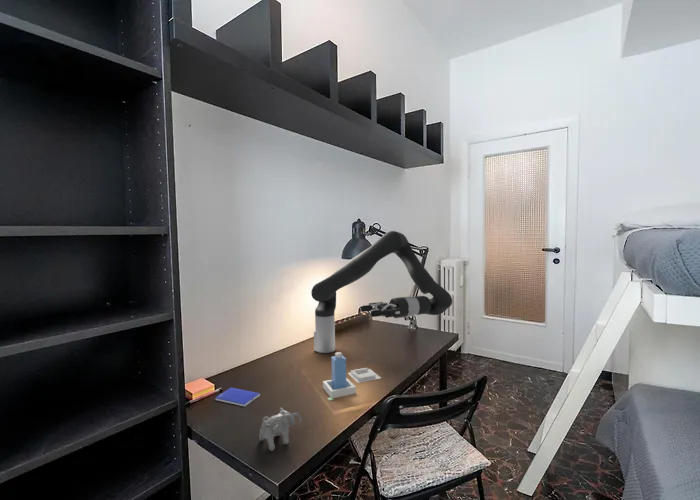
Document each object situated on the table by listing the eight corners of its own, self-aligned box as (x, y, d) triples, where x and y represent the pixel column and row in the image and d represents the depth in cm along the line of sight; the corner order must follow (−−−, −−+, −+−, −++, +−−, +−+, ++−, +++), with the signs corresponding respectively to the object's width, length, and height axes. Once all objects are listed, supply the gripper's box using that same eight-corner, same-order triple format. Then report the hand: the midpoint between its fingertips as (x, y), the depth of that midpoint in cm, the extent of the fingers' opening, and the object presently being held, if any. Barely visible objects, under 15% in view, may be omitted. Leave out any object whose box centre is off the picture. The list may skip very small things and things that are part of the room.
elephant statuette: (252, 445, 95) (251, 417, 94) (283, 424, 105) (282, 398, 104) (277, 456, 90) (276, 427, 89) (307, 433, 100) (307, 407, 99)
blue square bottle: (342, 387, 127) (341, 350, 126) (346, 392, 123) (345, 354, 123) (331, 389, 126) (331, 352, 125) (335, 394, 122) (335, 356, 121)
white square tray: (370, 370, 143) (369, 365, 143) (381, 380, 134) (381, 375, 134) (347, 374, 139) (347, 370, 139) (357, 385, 130) (357, 379, 130)
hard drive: (215, 397, 120) (244, 403, 116) (231, 387, 128) (260, 392, 123) (215, 401, 120) (244, 408, 116) (231, 391, 128) (260, 396, 123)
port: (348, 382, 132) (348, 374, 132) (361, 396, 121) (361, 387, 121) (317, 388, 128) (317, 380, 127) (328, 403, 117) (328, 394, 116)
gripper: (394, 294, 140) (357, 297, 133) (414, 300, 127) (374, 304, 120) (394, 312, 140) (357, 317, 134) (414, 321, 127) (374, 326, 121)
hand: (365, 311), depth 127 cm, fingers open, 8 cm apart
